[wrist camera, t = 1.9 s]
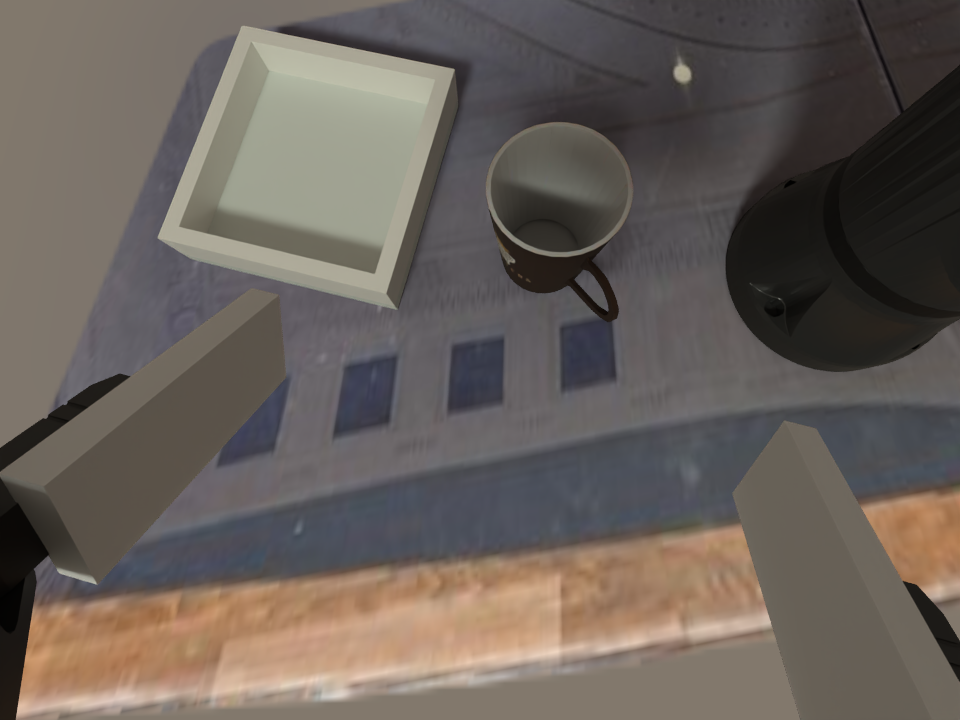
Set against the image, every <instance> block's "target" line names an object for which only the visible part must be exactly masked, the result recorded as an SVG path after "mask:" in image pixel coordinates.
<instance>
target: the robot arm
mask: <svg viewBox="0 0 960 720" xmlns="http://www.w3.org/2000/svg"><path fill="white" fill-rule="evenodd" d="M726 275H727V282H728V287H729V291H730V295H731V298H732V300H733V303H734V305H735V307H736V309H737V311H738V313H739V315H740V316H741V318H742V320H743V321H744V323H745V324H746V325H747V327H748V328H749V329H750V330H751V331H752V333H753V334H754V335H755V336H756V337H757V338H758V339H759V340H760V341H761V342H763V343H764V344H765V345H766V346H767V347H769V348H770V349H771V350H773V351H774V352H776V353H777V354H779V355H781V356H782V357H784V358H786V359H788V360H790V361H792V362H795V363H797V364H800V365H802V366H805V367H809V368H813V369H817V370H823V371H833V372H846V371H855V370H861V369H865V368H870V367H874V366H879V365H883V364H887V363H890V362H893V361H896V360H898V359H901V358H903V357H905V356H907V355H909V354H911V353H913V352H914V351H916V350H917V349H919V348H920V347H922V346H923V345H924V344H926V343H927V342H928V341H929V340H931V339H932V338H933V337H934V336H935V335H936V334H937V333H938V332H939V331H941V330H942V329H944V328H946V327H947V326H949V325H950V324H952V323H954V322H955V321H957V320H959V319H960V65H959V66H958V67H957V68H956V69H955V70H953V71H952V72H951V73H950V74H948V75H947V76H946V77H945V78H944V79H942V80H941V81H940V82H939V83H938V84H936V85H935V86H934V87H933V88H932V89H930V90H929V91H928V92H927V93H926V94H924V95H923V96H922V97H921V98H920V99H918V100H917V101H916V102H915V103H913V104H912V105H911V106H910V107H909V108H907V109H906V110H905V111H904V112H903V113H901V114H900V115H899V116H898V117H897V118H895V119H894V120H893V121H892V122H891V123H889V124H888V125H887V126H886V127H885V128H883V129H882V130H881V131H880V132H878V133H877V134H876V135H875V136H873V137H872V138H871V139H870V140H869V141H867V142H866V143H865V144H864V145H863V146H861V147H860V148H859V149H858V150H856V151H855V152H854V153H853V154H852V155H850V156H849V157H846V158H843V159H840V160H838V161H835V162H832V163H830V164H827V165H825V166H822V167H820V168H818V169H817V170H813V171H809V172H806V173H803V174H801V175H798V176H795V177H793V178H791V179H789V180H787V181H785V182H783V183H781V184H780V185H778V186H777V187H775V188H774V189H772V190H771V191H770V192H768V193H767V194H766V195H765V196H764V197H763V198H762V199H761V200H759V201H758V202H757V203H756V204H755V205H754V206H753V207H752V208H751V209H750V210H749V211H748V212H747V213H746V214H745V215H744V217H743V218H742V219H741V221H740V222H739V224H738V225H737V227H736V229H735V231H734V233H733V235H732V238H731V240H730V243H729V247H728V252H727V258H726ZM285 378H286V368H285V357H284V345H283V334H282V323H281V311H280V300H279V295H277V294H273V293H269V292H265V291H261V290H257V289H253V288H251V289H250V290H249V291H247V292H246V293H244V294H243V295H242V296H240V297H239V298H238V299H236V300H235V301H233V302H232V303H231V304H229V305H228V306H227V307H225V308H224V309H223V310H221V311H220V312H218V313H217V314H216V315H214V316H213V317H212V318H210V319H209V320H207V321H206V322H205V323H203V324H202V325H201V326H199V327H198V328H196V329H195V330H194V331H192V332H191V333H190V334H188V335H187V336H186V337H184V338H183V339H181V340H180V341H179V342H177V343H176V344H175V345H173V346H172V347H170V348H169V349H168V350H166V351H165V352H164V353H162V354H161V355H159V356H158V357H157V358H155V359H154V360H153V361H151V362H150V363H149V364H147V365H146V366H144V367H143V368H142V369H140V370H139V371H138V372H136V373H135V374H133V375H132V376H127V375H123V374H118V375H115V376H113V377H110V378H108V379H105V380H103V381H100V382H98V383H95V384H93V385H91V386H89V387H88V388H86V389H85V390H83V391H82V392H80V393H79V394H78V395H76V396H75V397H73V398H72V399H70V400H69V401H68V403H67V405H62V406H60V407H59V408H57V409H56V410H54V411H53V412H51V413H50V414H49V415H48V418H47V419H44V418H43V419H42V420H40V421H38V422H37V423H35V424H34V425H33V426H31V427H30V428H28V429H27V430H25V431H24V432H22V433H21V434H20V435H18V436H17V437H15V438H14V439H13V440H11V441H9V442H8V443H6V444H5V445H4V446H2V447H1V448H0V720H16V714H17V707H18V701H19V694H20V688H21V681H22V675H23V668H24V662H25V655H26V648H27V642H28V635H29V629H30V622H31V616H32V609H33V603H34V596H35V590H36V583H37V581H36V575H35V571H34V568H35V567H36V566H37V565H38V564H39V563H40V562H42V561H43V560H44V559H45V558H46V557H47V556H48V555H49V557H50V559H51V560H52V562H53V564H54V565H55V567H56V568H57V570H58V572H59V573H60V574H63V575H67V576H70V577H73V578H77V579H80V580H83V581H87V582H90V583H93V584H97V585H98V584H99V583H100V581H101V580H102V579H103V578H104V577H105V576H106V575H107V574H108V573H109V572H110V570H111V569H112V568H113V567H114V566H115V565H116V564H117V563H118V562H119V561H120V559H121V558H122V557H123V556H124V555H125V554H126V553H127V552H128V551H129V550H130V548H131V547H132V546H133V545H134V544H135V543H136V542H137V541H138V540H139V539H140V537H141V536H142V535H143V534H144V533H145V532H146V531H147V530H148V529H149V528H150V526H151V525H152V524H153V523H154V522H155V521H156V520H157V519H158V518H159V517H160V515H161V514H162V513H163V512H164V511H165V510H166V509H167V508H168V507H169V506H170V504H171V503H172V502H173V501H174V500H175V499H176V498H177V497H178V496H179V495H180V493H181V492H182V491H183V490H184V489H185V488H186V487H187V486H188V485H189V484H190V482H191V481H192V480H193V479H194V478H195V477H196V476H197V475H198V474H199V473H200V471H201V470H202V469H203V468H204V467H205V466H206V465H207V464H208V463H209V462H210V460H211V459H212V458H213V457H214V456H215V455H216V454H217V453H218V452H219V451H220V449H221V448H222V447H223V446H224V445H225V444H226V443H227V442H228V441H229V440H230V438H231V437H232V436H233V435H234V434H235V433H236V432H237V431H238V430H239V429H240V427H241V426H242V425H243V424H244V423H245V422H246V421H247V420H248V419H249V418H250V416H251V415H252V414H253V413H254V412H255V411H256V410H257V409H258V408H259V407H260V405H261V404H262V403H263V402H264V401H265V400H266V399H267V398H268V397H269V396H270V394H271V393H272V392H273V391H274V390H275V389H276V388H277V387H278V386H279V385H280V383H281V382H282V381H283V380H284V379H285ZM732 494H733V498H734V501H735V504H736V508H737V511H738V514H739V518H740V521H741V524H742V528H743V531H744V534H745V537H746V541H747V544H748V547H749V551H750V554H751V557H752V561H753V564H754V567H755V571H756V574H757V577H758V581H759V584H760V587H761V591H762V594H763V597H764V601H765V604H766V607H767V611H768V614H769V617H770V621H771V624H772V627H773V631H774V634H775V637H776V640H777V644H778V647H779V650H780V654H781V657H782V660H783V664H784V667H785V670H786V673H787V677H788V680H789V684H790V687H791V690H792V694H793V697H794V700H795V704H796V707H797V710H798V714H799V717H800V720H960V641H959V639H958V637H957V636H956V634H955V632H954V631H953V629H952V628H951V626H950V624H949V622H948V621H947V619H946V617H945V616H944V614H943V613H942V612H941V611H940V610H939V609H938V607H937V606H936V605H935V604H934V603H933V602H932V601H931V600H930V599H929V598H928V597H927V596H926V594H925V593H924V592H923V591H922V590H921V589H920V588H919V587H918V586H917V585H915V584H912V583H908V582H904V581H902V579H901V578H900V576H899V574H898V572H897V571H896V569H895V567H894V565H893V564H892V562H891V560H890V558H889V556H888V555H887V553H886V551H885V549H884V548H883V546H882V544H881V542H880V541H879V539H878V537H877V535H876V533H875V532H874V530H873V528H872V526H871V525H870V523H869V521H868V519H867V518H866V516H865V514H864V512H863V510H862V509H861V507H860V505H859V503H858V502H857V500H856V498H855V496H854V495H853V493H852V491H851V489H850V488H849V486H848V484H847V482H846V480H845V479H844V477H843V475H842V473H841V472H840V470H839V468H838V466H837V465H836V463H835V461H834V459H833V457H832V456H831V454H830V452H829V450H828V449H827V447H826V445H825V443H824V442H823V440H822V438H821V436H820V434H819V433H818V431H817V429H816V428H812V427H808V426H804V425H800V424H796V423H792V422H788V421H784V422H783V423H782V424H781V426H780V427H779V429H778V430H777V431H776V433H775V434H774V436H773V437H772V438H771V440H770V441H769V443H768V444H767V445H766V447H765V448H764V450H763V451H762V452H761V454H760V455H759V457H758V458H757V459H756V461H755V462H754V464H753V465H752V466H751V468H750V469H749V471H748V472H747V473H746V475H745V476H744V478H743V479H742V480H741V482H740V483H739V485H738V486H737V487H736V489H735V490H734V492H733V493H732Z"/></svg>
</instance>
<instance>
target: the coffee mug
mask: <svg viewBox="0 0 960 720" xmlns="http://www.w3.org/2000/svg"><path fill="white" fill-rule="evenodd" d="M486 198H487V203H488V208H489V212H490V215H491V219H492V223H493V227H494V231H495V234H496V238H497V242H498V246H499V250H500V253H501V257H502V261H503V265H504V267H505V270H506V272H507V274H508V275H509V277H510V278H511V279H512V280H513V281H514V282H515V283H516V284H517V285H519V286H520V287H522V288H523V289H526V290H528V291H531V292H536V293H550V292H555V291H558V290H560V289H562V288H564V287H566V286H567V285H568V286H570V287H571V288H572V289H573V290H574V291H575V292H576V293H577V295H578V296H579V297H580V298H581V299H582V300H583V301H584V302H585V303H586V304H587V306H588V307H589V308H590V309H591V310H592V311H593V312H594V313H596V314H597V315H598V316H599V317H600V318H602V319H603V320H605V321H607V322H611V321H613V320H615V319H616V318H617V316H618V312H619V308H618V304H617V300H616V297H615V295H614V292H613V290H612V288H611V286H610V283H609V281H608V280H607V278H606V276H605V275H604V274H603V273H602V271H601V270H600V269H599V268H598V267H597V266H596V265H595V264H594V263H593V262H592V261H591V260H592V259H593V258H594V257H595V256H596V255H597V254H598V253H599V252H600V251H601V250H602V248H603V247H604V246H605V245H606V244H607V243H608V242H609V241H610V240H611V239H612V238H613V236H614V235H615V234H616V233H617V232H618V231H619V229H620V228H621V226H622V225H623V224H624V222H625V221H626V218H627V216H628V214H629V211H630V209H631V204H632V199H633V181H632V177H631V173H630V169H629V167H628V165H627V163H626V160H625V158H624V156H623V155H622V154H621V153H620V151H619V150H618V149H617V147H616V146H615V145H614V144H613V143H612V142H610V141H609V140H608V139H607V138H606V137H605V136H603V135H601V134H600V133H598V132H596V131H595V130H593V129H590V128H588V127H585V126H582V125H579V124H574V123H568V122H549V123H544V124H538V125H535V126H532V127H530V128H527V129H524V130H523V131H521V132H519V133H518V134H516V135H514V136H513V137H512V138H511V139H509V140H508V141H507V142H506V143H505V144H504V145H503V146H502V147H501V148H500V150H499V151H498V152H497V154H496V155H495V157H494V159H493V161H492V163H491V165H490V167H489V171H488V175H487V179H486ZM583 269H584V270H587V271H589V272H590V273H591V274H592V275H593V276H594V277H595V279H596V280H597V281H598V283H599V284H600V286H601V288H602V289H603V292H604V294H605V297H606V300H607V303H608V308H609V311H608V312H607V311H606V310H604V309H602V308H601V307H599V306H598V305H597V304H596V303H595V302H594V301H593V300H592V299H591V298H590V297H589V295H588V294H587V293H586V292H585V291H584V290H583V289H582V288H581V287H580V286H579V285H578V284H577V283H576V281H575V280H574V279H575V278H576V277H577V276H578V275H579V273H580V272H581V271H582V270H583Z"/></svg>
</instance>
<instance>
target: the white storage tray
mask: <svg viewBox="0 0 960 720" xmlns="http://www.w3.org/2000/svg"><path fill="white" fill-rule="evenodd" d="M458 106H459V105H458V96H457V86H456V77H455V69H451V68H447V67H442V66H437V65H432V64H427V63H422V62H417V61H413V60H408V59H403V58H398V57H393V56H388V55H383V54H379V53H374V52H369V51H364V50H359V49H354V48H349V47H345V46H340V45H335V44H330V43H325V42H320V41H315V40H311V39H306V38H301V37H296V36H291V35H286V34H281V33H276V32H272V31H267V30H262V29H257V28H252V27H247V26H242V28H241V30H240V32H239V35H238V37H237V40H236V42H235V45H234V47H233V50H232V52H231V55H230V57H229V60H228V62H227V65H226V67H225V70H224V72H223V75H222V77H221V80H220V82H219V85H218V87H217V90H216V92H215V95H214V97H213V100H212V103H211V105H210V108H209V110H208V113H207V115H206V118H205V120H204V123H203V125H202V128H201V130H200V133H199V135H198V138H197V140H196V143H195V145H194V148H193V150H192V153H191V155H190V158H189V160H188V163H187V165H186V168H185V170H184V173H183V175H182V178H181V180H180V183H179V186H178V188H177V191H176V193H175V196H174V198H173V201H172V203H171V206H170V208H169V211H168V213H167V216H166V218H165V221H164V223H163V226H162V228H161V231H160V233H159V236H158V239H160V240H161V241H163V242H165V243H166V244H168V245H170V246H171V247H173V248H174V249H176V250H178V251H179V252H181V253H182V254H184V255H186V256H187V257H189V258H190V259H193V260H197V261H201V262H205V263H209V264H213V265H217V266H221V267H225V268H229V269H233V270H237V271H241V272H245V273H249V274H254V275H258V276H262V277H266V278H270V279H274V280H278V281H282V282H286V283H290V284H294V285H298V286H302V287H306V288H310V289H315V290H319V291H323V292H327V293H331V294H335V295H339V296H343V297H347V298H351V299H355V300H359V301H363V302H367V303H372V304H376V305H380V306H384V307H388V308H392V309H396V310H398V307H399V303H400V300H401V297H402V293H403V290H404V287H405V283H406V280H407V277H408V273H409V270H410V267H411V263H412V260H413V256H414V253H415V250H416V246H417V243H418V240H419V236H420V233H421V230H422V226H423V223H424V220H425V216H426V213H427V210H428V206H429V203H430V200H431V196H432V193H433V190H434V186H435V183H436V180H437V176H438V173H439V170H440V166H441V163H442V159H443V156H444V153H445V149H446V146H447V143H448V139H449V136H450V133H451V129H452V126H453V123H454V119H455V116H456V113H457V109H458Z"/></svg>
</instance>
